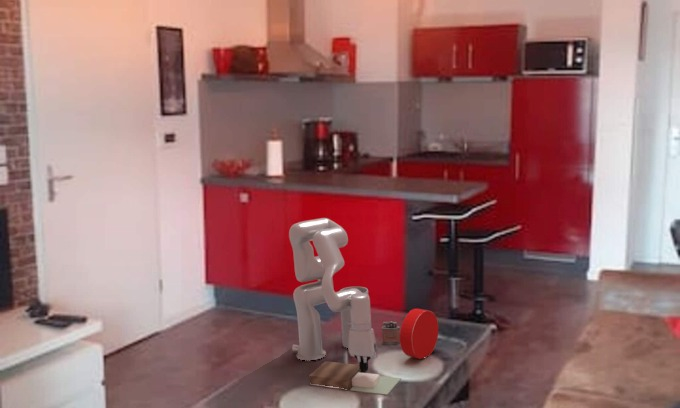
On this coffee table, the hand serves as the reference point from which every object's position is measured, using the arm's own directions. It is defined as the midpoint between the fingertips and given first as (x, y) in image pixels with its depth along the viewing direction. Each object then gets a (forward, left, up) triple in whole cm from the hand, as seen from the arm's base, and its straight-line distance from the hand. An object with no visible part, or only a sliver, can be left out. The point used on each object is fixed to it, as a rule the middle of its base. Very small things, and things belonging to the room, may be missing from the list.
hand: (364, 371), depth 282 cm
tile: (+1, 0, -3) cm, 3 cm away
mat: (+4, 0, -5) cm, 7 cm away
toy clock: (+12, +32, -5) cm, 35 cm away
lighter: (-5, +43, -5) cm, 44 cm away
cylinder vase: (-19, +37, -5) cm, 42 cm away
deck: (-12, 0, -5) cm, 13 cm away
